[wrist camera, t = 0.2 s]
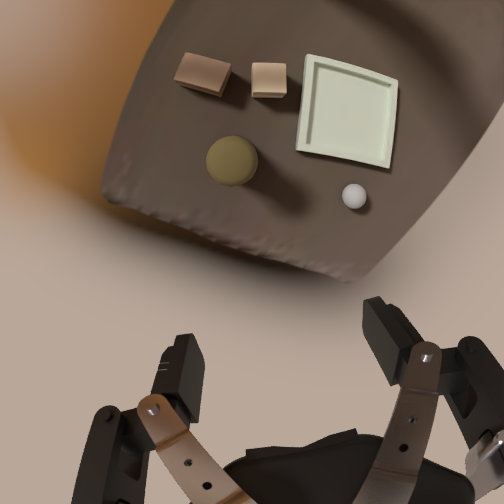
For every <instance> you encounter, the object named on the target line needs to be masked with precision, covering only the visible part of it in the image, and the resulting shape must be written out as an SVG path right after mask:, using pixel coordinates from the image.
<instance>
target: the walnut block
mask: <svg viewBox="0 0 504 504" xmlns="http://www.w3.org/2000/svg"><path fill="white" fill-rule="evenodd" d="M231 73H232V68H231V64H229V63H226V62H222V61H219V60H215V59H211V58H207V57H204V56H199V55H195V54H191V53H185V55H184V57H183V59H182V61H181V63H180V66H179V68H178V70H177V72H176V75H175V77H174V79H173V80H174V81H176V82H177V83H178V84H179V85H180V86H184V87H187V88H191V89H195V90H199V91H202V92H206V93H209V94H212V95H216V96H219V97H221V96H222V93H223V91H224V89H225V86H226V84H227V82H228V80H229V77H230V75H231Z"/></svg>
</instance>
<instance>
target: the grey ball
mask: <svg viewBox="0 0 504 504" xmlns="http://www.w3.org/2000/svg"><path fill="white" fill-rule="evenodd" d="M342 198H343V201H344V203H345V204H346V205H347V206H348V207H350V208H353V209H357V208H360V207H362V206H363V205H364V203H365V202H366V192H365V190H364V189H363V187H361V186H360V185H358V184H350V185H348V186H347V187H346V188H345V189H344V190H343V193H342Z"/></svg>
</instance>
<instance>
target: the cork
mask: <svg viewBox="0 0 504 504" xmlns="http://www.w3.org/2000/svg"><path fill="white" fill-rule="evenodd" d="M206 164H207V170H208V172H209V173H210V175H211V177H212V178H213V179H214V180H215V181H216V182H218V183H220V184H222V185H225V186H231V187H232V186H239V185H242V184H244V183H246V182H247V181H248V180H250V179H251V178H252V177H253V175H254V173H255V172H256V170H257V165H258V157H257V153H256V150H255V148H254V146H253V144H252V143H251V142H250V141H249V140H247V139H245V138H243V137H241V136H228V137H224V138H221V139H219V140H217V141H216V142H215V143H214V144H213V145H212V146H211V148H210V149H209V151H208V153H207V159H206Z"/></svg>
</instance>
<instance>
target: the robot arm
mask: <svg viewBox="0 0 504 504" xmlns="http://www.w3.org/2000/svg"><path fill="white" fill-rule="evenodd" d="M362 328H363V333H364V336H365V338H366V340H367V342H368V344H369V346H370V348H371V350H372V351H373V353H374V355H375V357H376V359H377V361H378V363H379V365H380V367H381V368H382V370H383V372H384V374H385V376H386V378H387V380H388V382H389V384H390V386H393V385H396V384H399V385H400V387H401V389H400V392H399V395H398V398H397V401H396V405H395V408H394V410H393V413H392V416H391V419H390V421H389V424H388V427H387V429H386V432H385V434H384V437H380V436H375V435H370V434H357V431H356V428H354V429H351V430H347V431H344V432H340V433H336V434H333V435H329V436H327V437H325V438H323V439H320V440H318V441H316V442H314V443H312V444H309V445H307V446H305V447H300V448H299V447H277V446H271V447H263V448H255V449H246V456H244V457H241V458H239V459H237V460H235V461H233V462H231V463H229V464H228V465H227V466H225V467H224V468H223V469H222V468H221V467H220V466H219V465H218V464H217V463H216V462H215V461H214V459H213V458H212V457H211V456H210V455H209V454H208V452H207V451H206V450H205V449H204V448H203V447H202V445H201V444H200V443H199V442H198V441H197V439H196V438H195V437H194V436H193V434H192V433H191V432H190V431H189V428H190V423H198V421H199V412H200V403H201V395H202V386H203V378H204V371H205V362H204V358H203V355H202V353H201V350H200V348H199V346H198V344H197V341H196V339H195V336H194V335H193V334H192V333H190V334H183V335H177V336H176V339H175V342H174V345H173V346H170V347H168V348H167V349H166V350H165V352H164V353H163V354H162V357H161V360H160V364H159V366H158V371H157V373H156V376H155V380H154V383H153V387H152V390H151V394H150V395H148V396H146V397H145V398H143V399H142V400H141V401H140V402H139V404H138V406H137V408H134V409H131V410H127V411H123V412H120V410H119V409H118V408H117V407H115V406H111V405H110V406H105V407H102V408H101V409H99V410H98V411H97V413H96V414H95V416H94V419H93V422H92V425H91V429H90V432H89V435H88V438H87V442H86V445H85V448H84V452H83V456H82V460H81V463H80V467H79V471H78V475H77V479H76V483H75V488H74V492H73V497H72V502H71V504H144V497H145V487H146V478H147V469H148V461H149V453H150V451H152V450H156V452H157V453H158V455H159V457H160V458H161V460H162V461H163V463H164V464H165V466H166V467H167V469H168V470H169V472H170V473H171V475H172V476H173V477H174V479H175V481H176V482H177V483H178V485H179V486H180V487H181V489H182V490H183V491H184V493H185V494H186V495H187V497H188V498H189V499H190V500H191V502H190V503H189V504H475V501H477V500H478V499H480V498H481V497H483V496H484V495H486V494H487V493H489V492H490V491H492V490H495V489H497V488H499V487H500V486H502V485H503V484H504V370H503V368H502V367H501V366H500V364H499V363H498V362H497V360H496V359H495V357H494V356H493V355H492V353H491V352H490V351H489V349H488V348H487V347H486V345H485V344H484V343H483V342H482V341H481V340H480V339H479V338H477V337H474V336H467V337H464V338H462V339H461V340H460V341H459V343H458V346H457V347H454V348H446V349H440V348H439V346H437V345H436V344H434V343H432V342H427V341H426V342H425V341H424V340H423V338H422V337H421V336H420V334H419V333H418V332H417V330H416V329H415V328H414V326H413V325H412V324H411V322H409V320H408V319H407V317H405V315H404V314H403V312H402V311H401V310H400V309H399V308H398V307H396V306H394V305H393V304H388V305H386V304H385V302H384V301H383V300H382V299H381V297H380V296H377V297H374V298H370V299H366V300H364V302H363V321H362ZM439 395H444V397H445V399H446V401H447V403H448V405H449V407H450V409H451V411H452V413H453V415H454V417H455V419H456V421H457V423H458V425H459V428H460V430H461V432H462V434H463V436H464V439H465V441H466V443H467V445H468V448H469V452H468V454H467V456H466V460H465V464H466V476H464V475H463V474H460V473H458V472H455V471H453V470H450V469H448V468H446V467H443V466H441V465H439V464H437V463H434V462H432V461H430V460H428V459H426V458H423V457H424V454H425V450H426V447H427V443H428V440H429V437H430V433H431V428H432V425H433V421H434V416H435V412H436V407H437V402H438V397H439Z"/></svg>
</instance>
